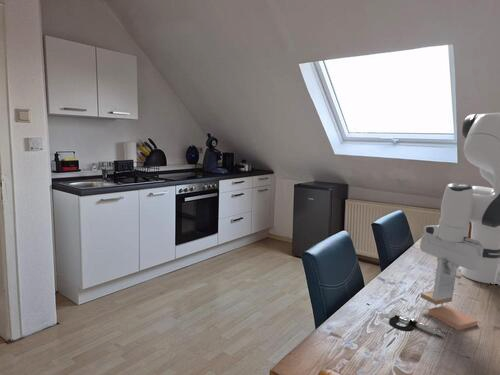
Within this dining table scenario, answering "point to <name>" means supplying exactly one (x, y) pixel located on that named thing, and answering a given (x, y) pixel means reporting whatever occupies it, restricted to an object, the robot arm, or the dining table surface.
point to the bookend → (441, 284)
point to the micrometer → (412, 324)
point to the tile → (453, 317)
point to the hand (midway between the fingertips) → (446, 273)
